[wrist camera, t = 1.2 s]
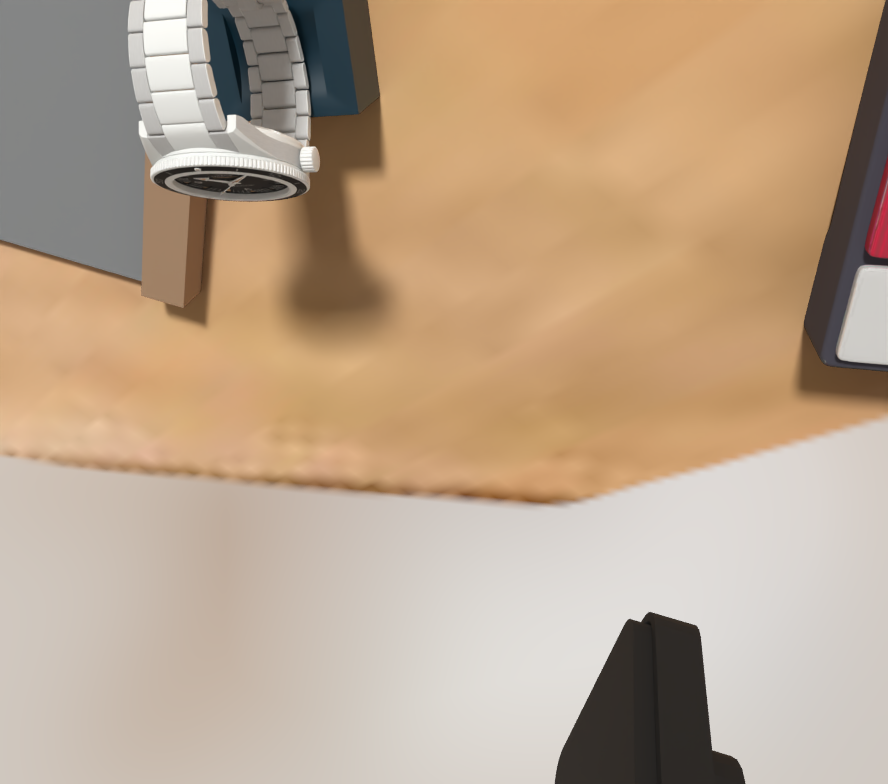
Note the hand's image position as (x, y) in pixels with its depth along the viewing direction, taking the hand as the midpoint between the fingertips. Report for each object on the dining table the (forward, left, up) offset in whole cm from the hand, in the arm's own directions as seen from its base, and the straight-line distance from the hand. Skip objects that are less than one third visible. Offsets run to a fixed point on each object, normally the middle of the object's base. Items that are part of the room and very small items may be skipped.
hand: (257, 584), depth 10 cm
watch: (0, -8, -26) cm, 28 cm away
